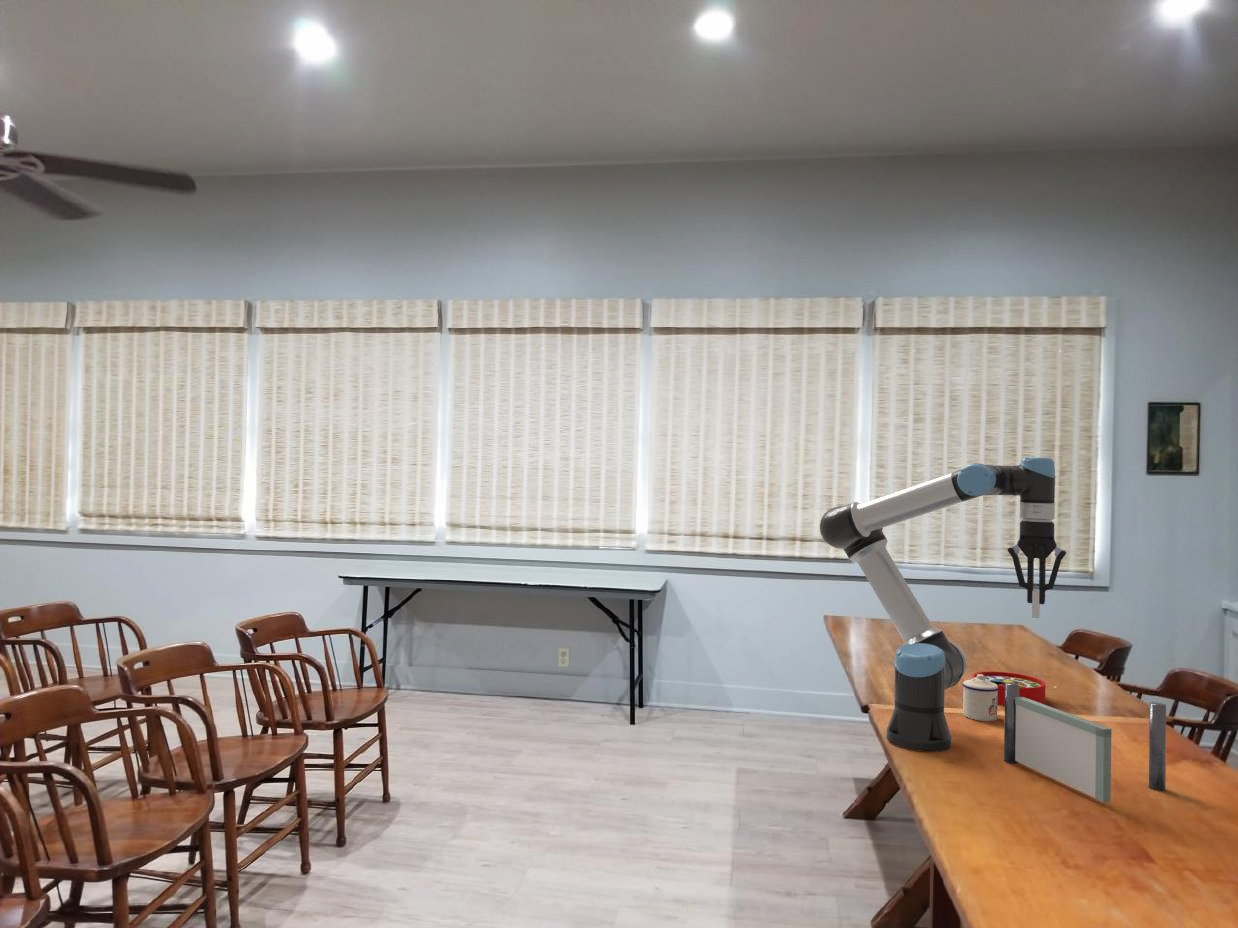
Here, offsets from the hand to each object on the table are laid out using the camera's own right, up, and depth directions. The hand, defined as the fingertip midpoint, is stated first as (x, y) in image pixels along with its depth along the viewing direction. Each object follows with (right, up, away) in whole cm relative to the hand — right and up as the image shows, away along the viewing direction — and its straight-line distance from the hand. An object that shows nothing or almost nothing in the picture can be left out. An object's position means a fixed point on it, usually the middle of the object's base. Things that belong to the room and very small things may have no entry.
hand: (1035, 616), depth 195 cm
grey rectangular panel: (-7, -31, -22) cm, 39 cm away
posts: (+2, -32, -16) cm, 36 cm away
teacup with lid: (-1, -33, +28) cm, 43 cm away
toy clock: (+16, -34, +47) cm, 60 cm away
